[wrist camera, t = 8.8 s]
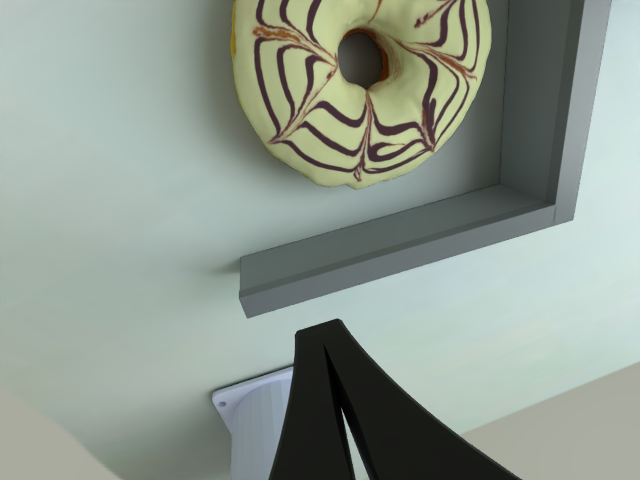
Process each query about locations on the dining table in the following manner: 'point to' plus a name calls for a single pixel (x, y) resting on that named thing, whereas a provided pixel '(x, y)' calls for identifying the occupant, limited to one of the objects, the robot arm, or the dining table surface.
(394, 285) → the dining table surface
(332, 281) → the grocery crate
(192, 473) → the dining table surface
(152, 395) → the dining table surface
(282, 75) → the decorated donut
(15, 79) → the dining table surface
